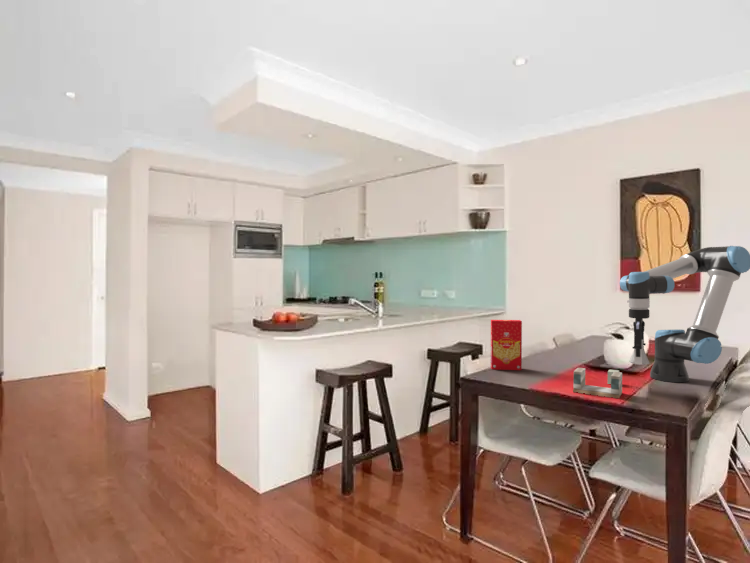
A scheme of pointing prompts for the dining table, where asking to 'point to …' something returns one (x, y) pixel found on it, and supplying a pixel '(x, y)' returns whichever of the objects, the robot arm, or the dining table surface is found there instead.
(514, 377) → the dining table surface
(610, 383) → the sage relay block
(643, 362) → the flask
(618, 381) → the grey u-shaped holder
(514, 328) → the food packaging
